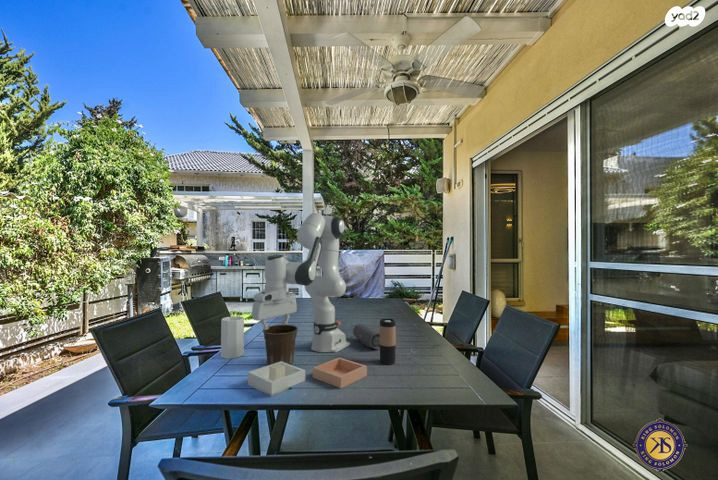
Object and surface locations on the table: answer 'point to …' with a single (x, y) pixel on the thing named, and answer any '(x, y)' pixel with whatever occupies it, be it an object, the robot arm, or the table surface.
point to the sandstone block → (276, 372)
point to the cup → (232, 337)
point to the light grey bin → (272, 388)
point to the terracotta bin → (339, 372)
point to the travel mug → (387, 341)
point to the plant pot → (280, 343)
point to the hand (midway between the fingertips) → (275, 327)
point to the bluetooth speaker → (367, 336)
